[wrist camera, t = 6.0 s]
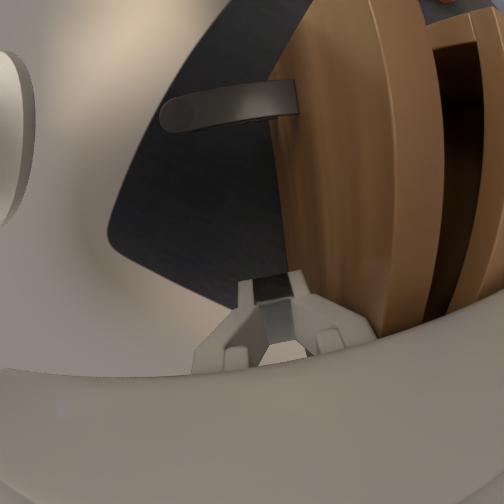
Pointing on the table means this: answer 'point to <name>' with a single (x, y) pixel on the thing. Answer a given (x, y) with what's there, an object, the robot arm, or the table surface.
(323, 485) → the robot arm
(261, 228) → the table surface
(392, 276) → the door
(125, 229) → the table surface
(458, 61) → the cupboard
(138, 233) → the table surface
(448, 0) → the button box
